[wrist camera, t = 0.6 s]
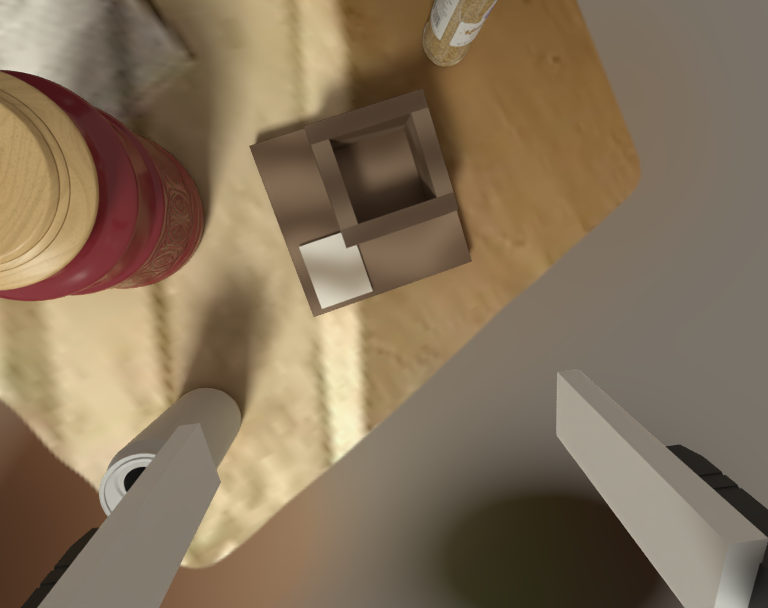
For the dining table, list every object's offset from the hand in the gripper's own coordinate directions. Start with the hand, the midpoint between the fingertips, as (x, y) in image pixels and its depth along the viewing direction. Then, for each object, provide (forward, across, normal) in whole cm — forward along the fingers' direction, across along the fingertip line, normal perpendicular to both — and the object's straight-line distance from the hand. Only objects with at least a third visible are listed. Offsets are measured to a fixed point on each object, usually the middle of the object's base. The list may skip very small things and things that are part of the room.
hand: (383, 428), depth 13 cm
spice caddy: (+25, 0, +6) cm, 26 cm away
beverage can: (+20, -18, -11) cm, 29 cm away
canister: (+23, -21, +9) cm, 32 cm away
